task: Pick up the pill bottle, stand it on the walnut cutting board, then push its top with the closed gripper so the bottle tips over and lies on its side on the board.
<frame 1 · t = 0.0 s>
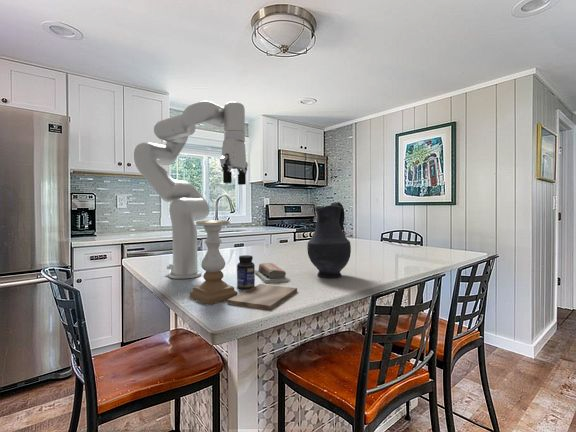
hand: (234, 183, 120), 37 cm above the countertop, tool pointing down, fingers open, 9 cm apart
pill bottle: (245, 288, 112), on the countertop
butter dish: (271, 278, 128), on the countertop
pitcher: (331, 275, 132), on the countertop
walnut board: (264, 297, 100), on the countertop
candle holder: (213, 298, 100), on the countertop
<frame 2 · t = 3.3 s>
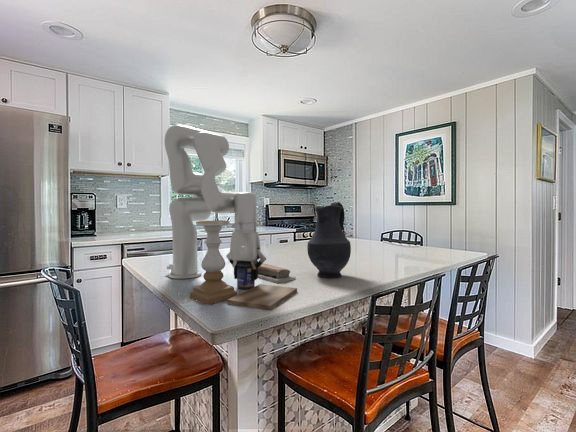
hand: (245, 278, 112), 3 cm above the countertop, tool pointing down, fingers closed on pill bottle, 6 cm apart
pill bottle: (245, 288, 112), on the countertop, touching gripper
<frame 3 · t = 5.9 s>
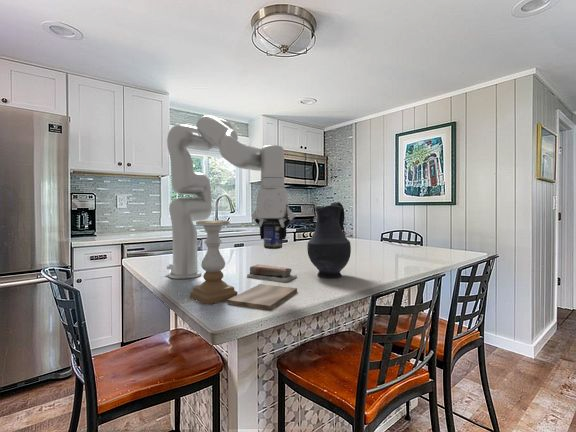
hand: (273, 238, 105), 18 cm above the countertop, tool pointing down, fingers closed on pill bottle, 6 cm apart
pill bottle: (273, 248, 105), point 15 cm above the countertop, touching gripper
when the fingers open (6 cm above the countertop, at t = 8.7 s): pill bottle drops 1 cm, resting on walnut board.
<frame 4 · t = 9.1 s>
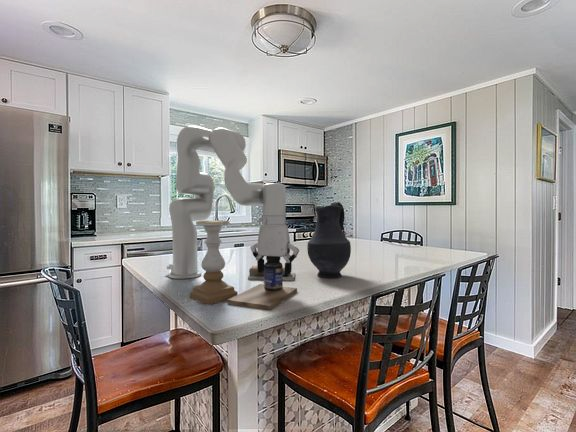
hand: (274, 273, 105), 6 cm above the countertop, tool pointing down, fingers open, 9 cm apart
pill bottle: (273, 289, 106), point 1 cm above the countertop, touching walnut board
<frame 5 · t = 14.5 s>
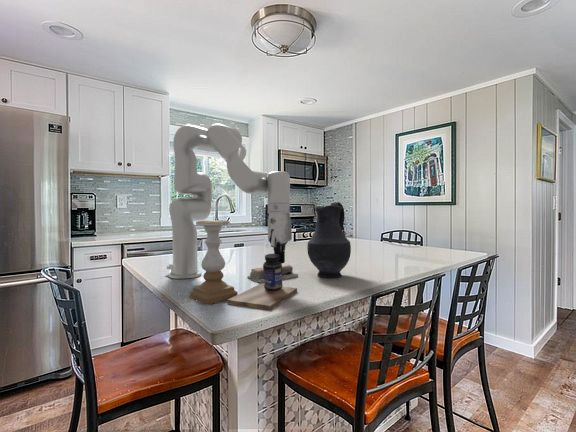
hand: (279, 262, 108), 9 cm above the countertop, tool pointing down, fingers closed
pill bottle: (273, 288, 106), point 1 cm above the countertop, touching gripper, walnut board
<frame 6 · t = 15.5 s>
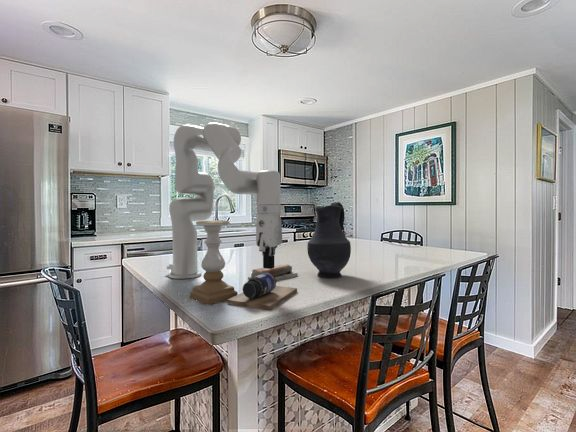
hand: (268, 267, 102), 9 cm above the countertop, tool pointing down, fingers closed
pill bottle: (268, 281, 103), point 4 cm above the countertop, touching walnut board
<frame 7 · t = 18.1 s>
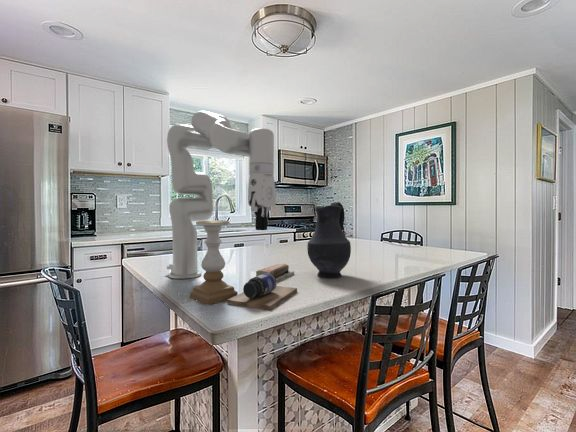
hand: (261, 229, 99), 21 cm above the countertop, tool pointing down, fingers closed
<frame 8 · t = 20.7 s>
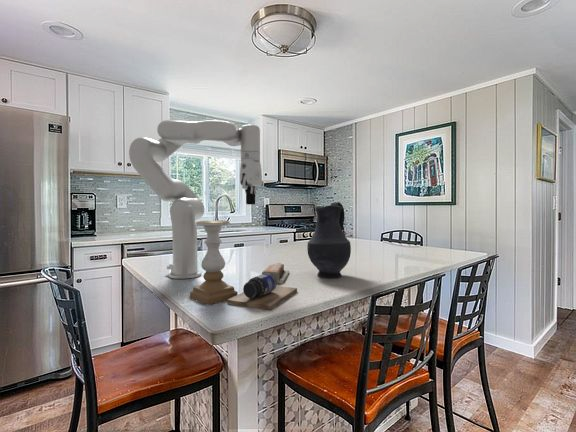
hand: (250, 204, 126), 29 cm above the countertop, tool pointing down, fingers closed
at the end: pill bottle tilted 91°; pill bottle inside the target area (3.1 cm from its centre), point 4.3 cm above the countertop; the gripper is holding nothing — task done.
